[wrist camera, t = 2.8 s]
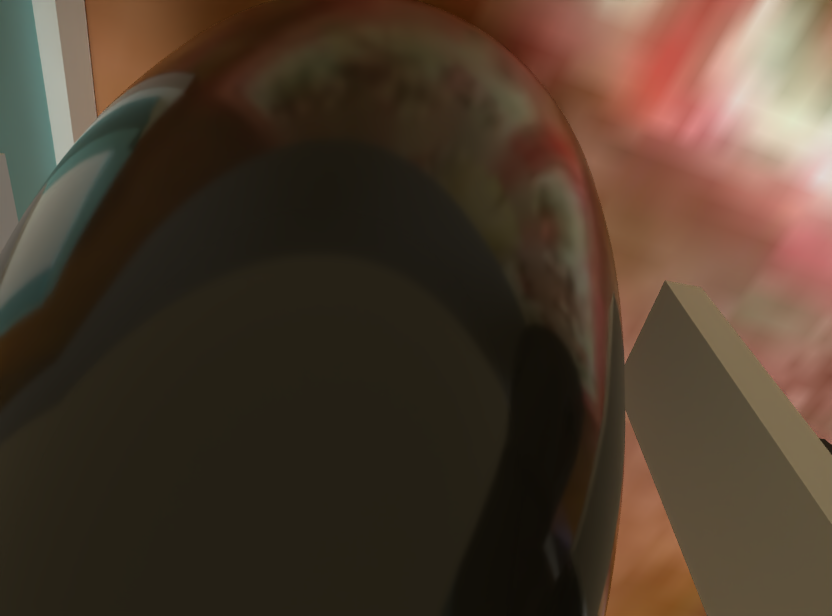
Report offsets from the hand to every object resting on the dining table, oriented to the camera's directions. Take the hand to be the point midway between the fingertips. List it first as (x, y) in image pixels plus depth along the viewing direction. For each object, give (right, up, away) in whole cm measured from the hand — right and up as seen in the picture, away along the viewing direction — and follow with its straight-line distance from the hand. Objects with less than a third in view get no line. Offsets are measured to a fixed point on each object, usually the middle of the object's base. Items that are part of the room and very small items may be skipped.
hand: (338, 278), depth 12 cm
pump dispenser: (0, +3, +5) cm, 6 cm away
